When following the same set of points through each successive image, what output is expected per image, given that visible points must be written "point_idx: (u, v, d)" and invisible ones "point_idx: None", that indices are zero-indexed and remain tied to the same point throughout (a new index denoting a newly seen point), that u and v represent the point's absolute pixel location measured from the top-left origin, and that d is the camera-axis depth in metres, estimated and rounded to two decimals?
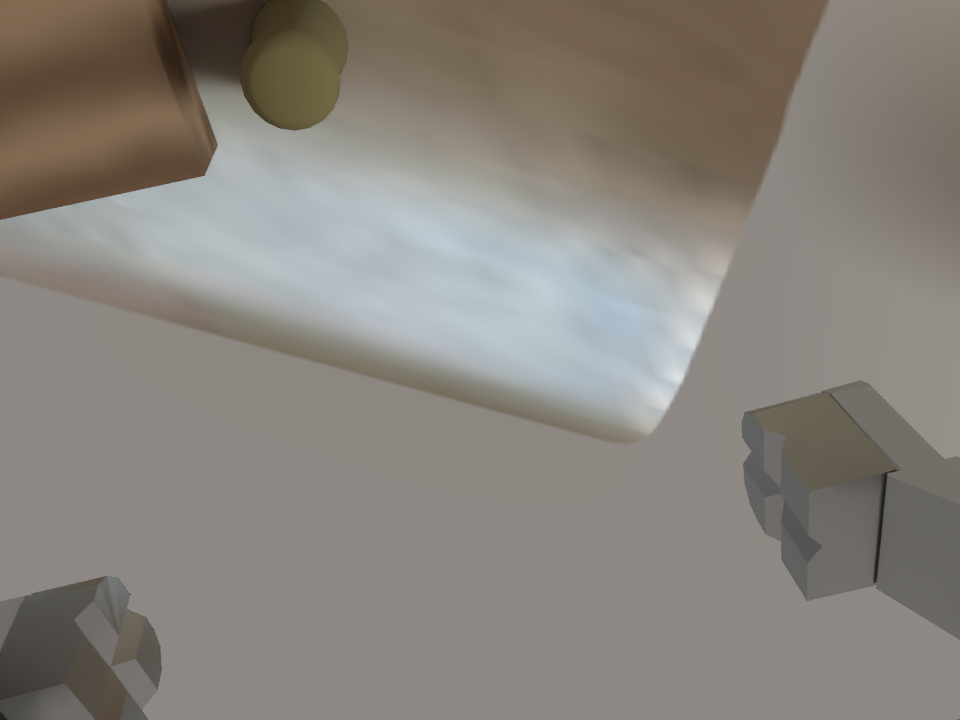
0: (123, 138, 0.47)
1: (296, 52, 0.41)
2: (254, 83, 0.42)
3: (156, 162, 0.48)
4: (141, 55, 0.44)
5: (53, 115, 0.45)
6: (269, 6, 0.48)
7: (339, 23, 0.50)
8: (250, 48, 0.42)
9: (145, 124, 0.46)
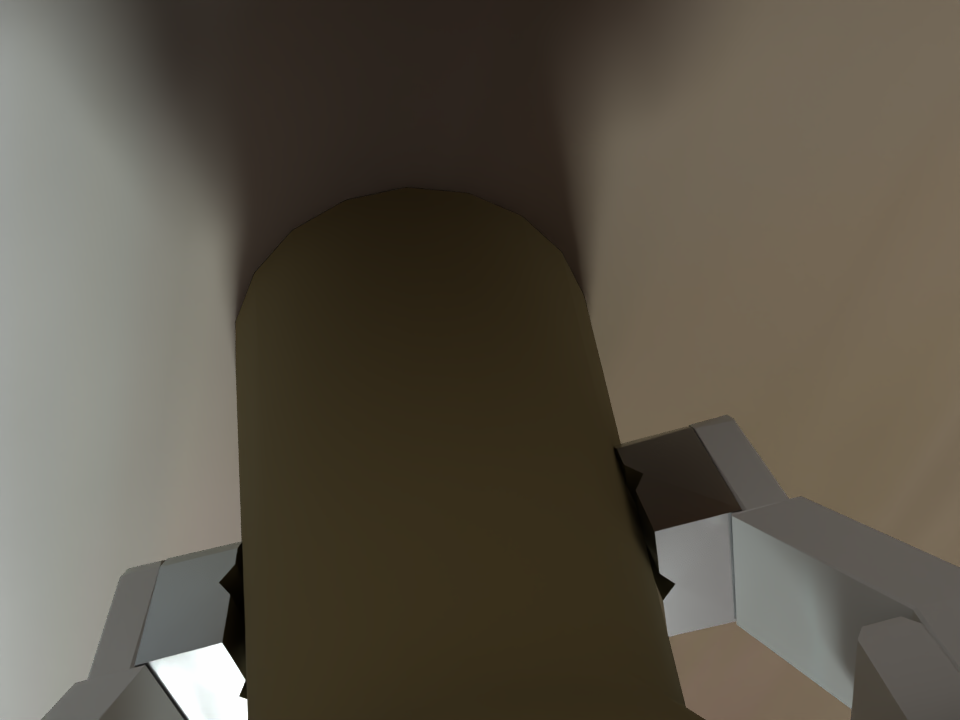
0: None
1: None
2: None
3: None
4: None
5: None
6: (576, 301, 0.12)
7: None
8: None
9: None
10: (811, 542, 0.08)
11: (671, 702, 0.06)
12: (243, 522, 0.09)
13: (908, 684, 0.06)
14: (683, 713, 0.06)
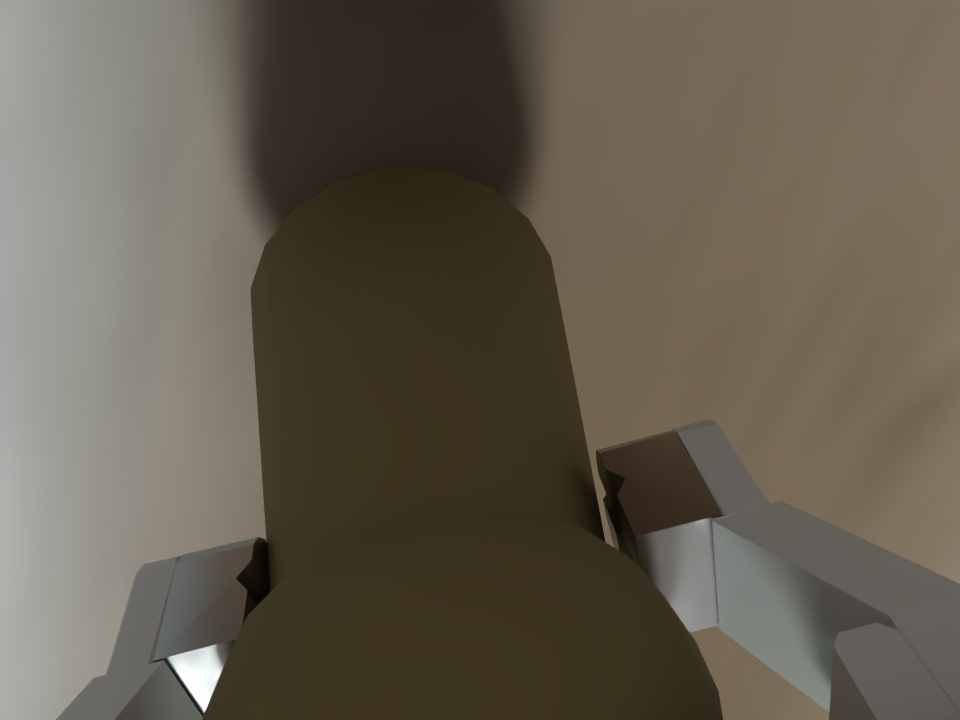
0: None
1: None
2: None
3: None
4: None
5: None
6: (539, 258, 0.14)
7: None
8: (654, 654, 0.07)
9: None
10: (790, 548, 0.08)
11: (577, 527, 0.08)
12: (261, 439, 0.12)
13: (882, 691, 0.06)
14: (585, 533, 0.08)
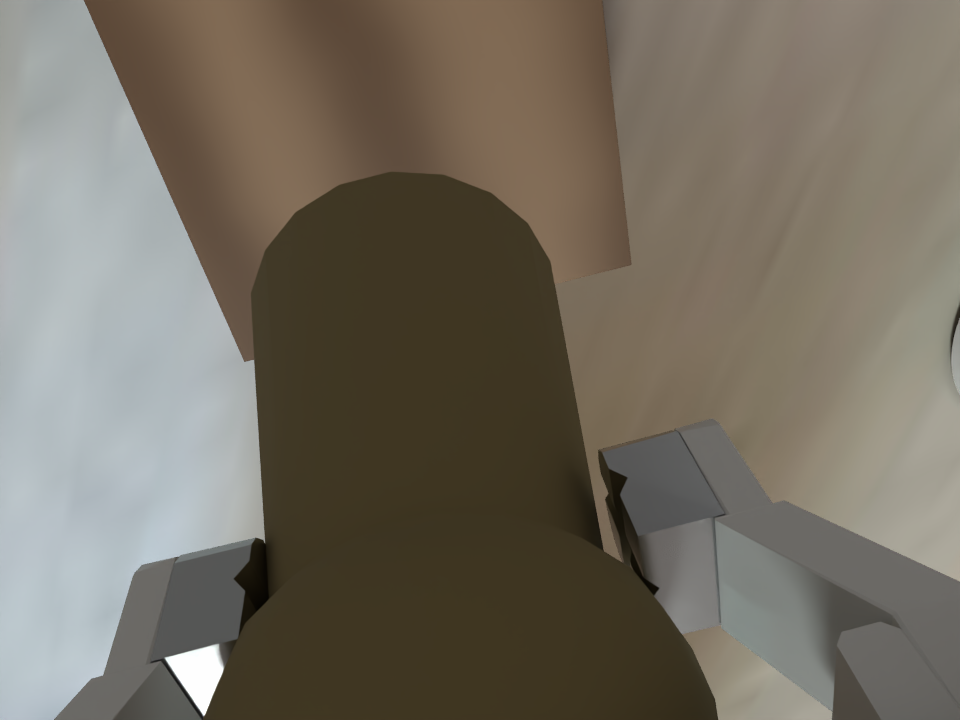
0: None
1: None
2: None
3: None
4: None
5: (327, 141, 0.25)
6: (538, 263, 0.14)
7: None
8: (650, 663, 0.07)
9: None
10: (793, 547, 0.08)
11: (575, 535, 0.08)
12: (260, 444, 0.12)
13: (886, 690, 0.06)
14: (582, 541, 0.08)
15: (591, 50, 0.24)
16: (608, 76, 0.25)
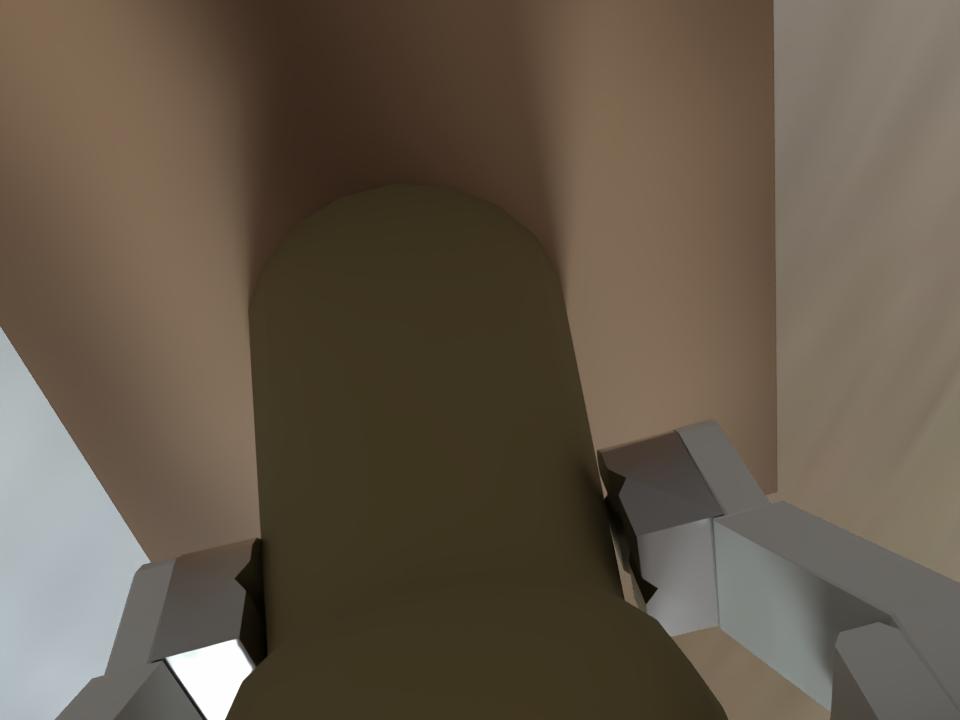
0: None
1: None
2: None
3: None
4: None
5: None
6: (548, 280, 0.14)
7: None
8: None
9: None
10: (791, 547, 0.08)
11: (597, 586, 0.08)
12: (258, 474, 0.11)
13: (884, 691, 0.06)
14: (605, 593, 0.07)
15: (748, 205, 0.15)
16: (772, 242, 0.15)
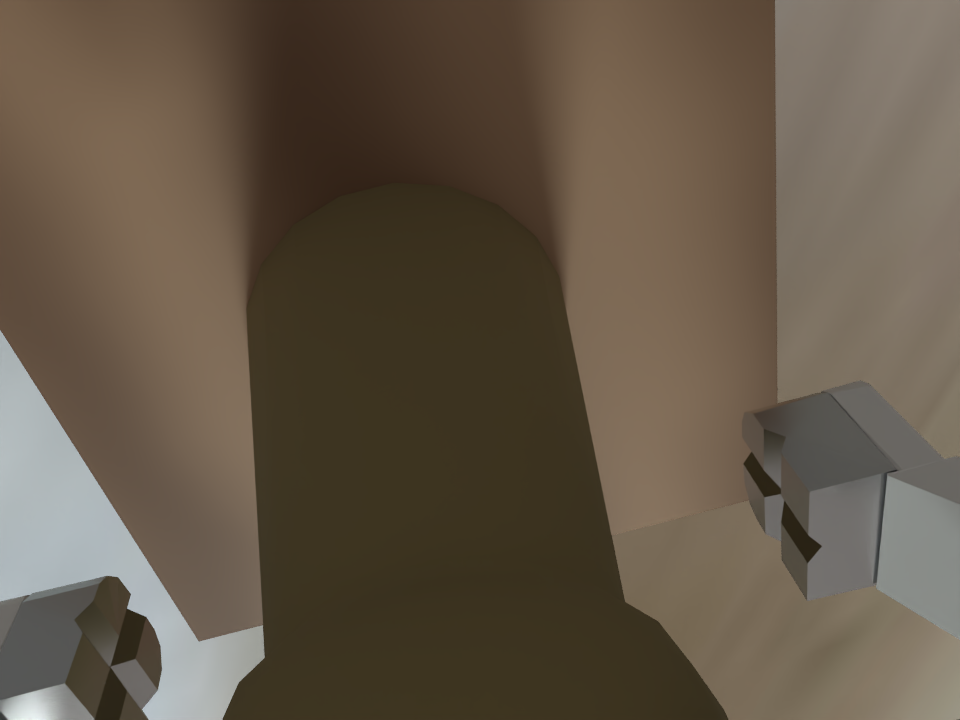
0: None
1: None
2: None
3: (217, 558, 0.18)
4: None
5: None
6: (548, 280, 0.14)
7: None
8: None
9: None
10: None
11: (598, 587, 0.07)
12: (256, 474, 0.11)
13: None
14: (606, 594, 0.07)
15: (750, 205, 0.15)
16: (773, 242, 0.15)
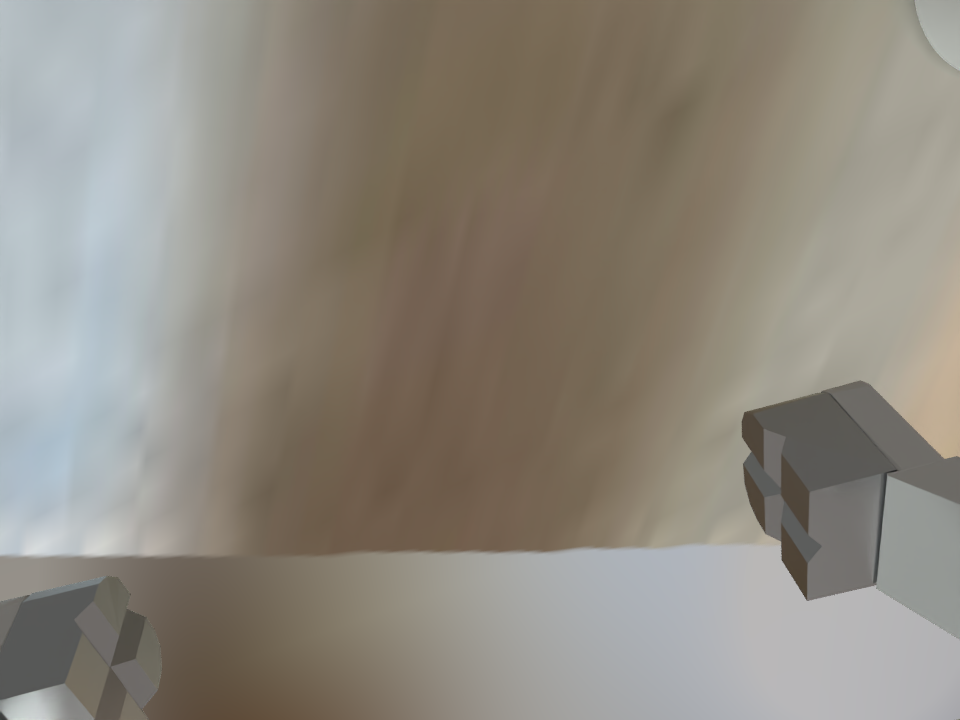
0: None
1: None
2: None
3: None
4: None
5: None
6: None
7: None
8: None
9: None
10: None
11: None
12: None
13: None
14: None
15: None
16: None
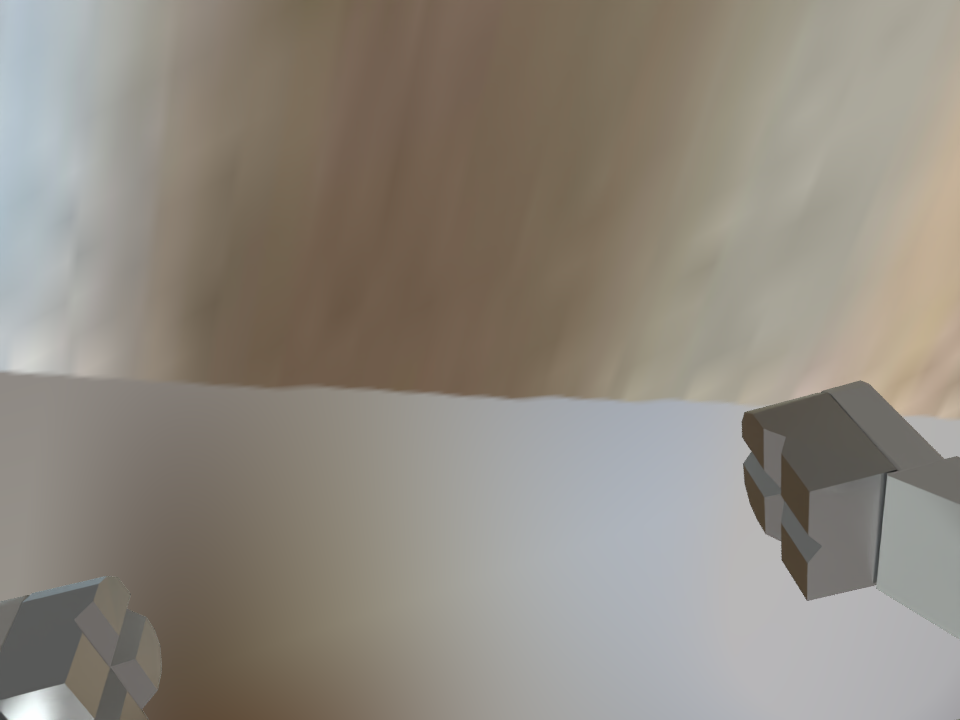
0: None
1: None
2: None
3: None
4: None
5: None
6: None
7: None
8: None
9: None
10: None
11: None
12: None
13: None
14: None
15: None
16: None
